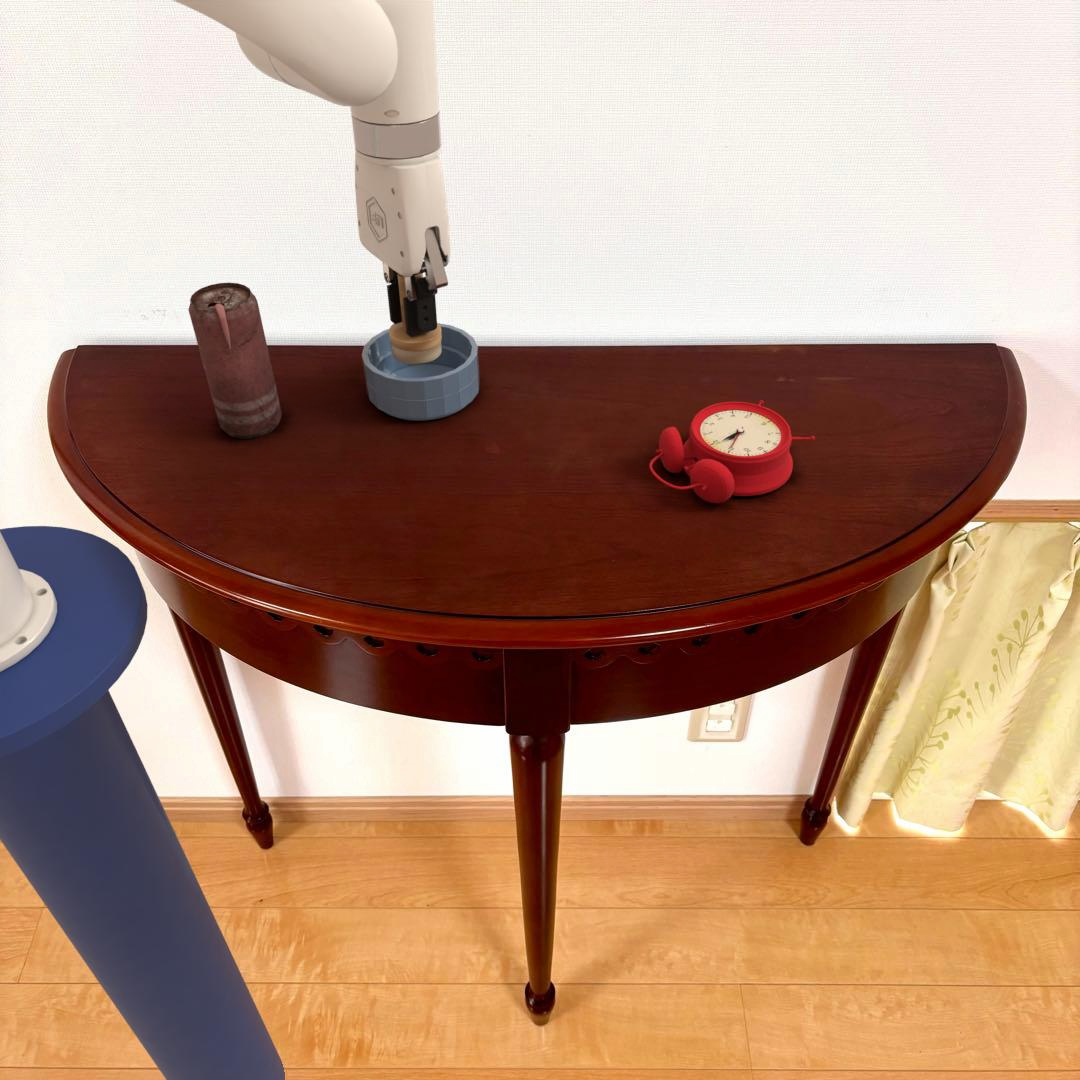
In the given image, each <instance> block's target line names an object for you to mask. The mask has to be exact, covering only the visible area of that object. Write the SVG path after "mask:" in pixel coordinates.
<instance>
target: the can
mask: <svg viewBox="0 0 1080 1080" xmlns="http://www.w3.org/2000/svg"><path fill="white" fill-rule="evenodd" d="M189 302H190V303H189V305H188V306H189V307H188V309H187V310H188V313H189V317H190V321H191V325H192V328H193V332H194V336H195V339H196V343H197V346H198V350H199V354H200V355H199V356H200V358H201V362H202V367H203V369H204V373H205V376H206V380H207V382H208V388H209V391H210V395H211V399H212V402H213V403H212V404H213V407H214V410H215V413H216V417H217V421H218V424H219V428H220V429H221V430H222V431H224V432H225V434H227V435H229V436H230V437H233V438H235V439H241V440H242V439H244V440H245V439H246V440H248V439H256V438H260V437H263V436H265V435H267V434H270V433H271V432H272V431H274V430H275V429H276V428H277V427H278V425H279V424H280V422H281V419H282V415H283V414H282V409H281V404H280V399H279V395H278V390H277V385H276V380H275V376H274V371H273V367H272V362H271V359H270V352H269V349H268V343H267V339H266V334H265V330H264V326H263V321H262V320H263V319H262V316H261V312H260V307H259V302H258V299H257V298H256V295H254V293H253V292H252V290H251V288H250V287H248V286H246V285H245V284H241V283H237V282H217V283H213V284H209V285H207V286H204V287H203V286H202V287H201V288H199V289H198V290H196V291H195V292H193V294H191V296H190V299H189Z"/></svg>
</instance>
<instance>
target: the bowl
mask: <svg viewBox="0 0 1080 1080" xmlns="http://www.w3.org/2000/svg"><path fill="white" fill-rule="evenodd" d="M437 323H438V324H439V325H440V326H441V333H442V339H441V347H442V352H441V354H440V356H439V357H438V358H436V359H435V360H433V361H430V362H427V363H423V364H407V363H403V362H400V361H398V360H396V359H395V358H394V357H393V355H392V348H391V343H390V339H389V329H390V328H386V329H384V330H382V331H380V332H379V333H377V334H376V335H374V336H372V337H371V338H370V339H369V340H368V341H367V342H366V343H365V344H364V345H363V350H362V353H361V360H362V367H363V373H364V380H365V388H366V393H367V396H368V399H369V401H370V402H371V403H372V405H374V406H375V408H377V409H378V410H380V411H382V412H383V413H385V414H386V415H389V416H391V417H394V418H397V419H401V420H406V421H417V422H418V421H422V422H423V421H432V420H438V419H442V418H446V417H450V416H452V415H453V414H456V413H458V412H460V411H461V410H463V409H464V408H466V407H467V406H468V405H469V404H471V403H472V402H473V401H474V399H475V398H476V397H477V395H478V394H479V391H480V382H481V381H480V365H479V363H480V361H479V345H478V344H477V342H476V340H475V338H474V337H473V336H472V335H471V334H469V333H468V332H467V331H465V330H464V329H461V328H460V327H459V328H458V327H457V326H454V325H452V324H446V323H440V322H437Z"/></svg>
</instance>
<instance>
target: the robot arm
mask: <svg viewBox="0 0 1080 1080" xmlns="http://www.w3.org/2000/svg"><path fill="white" fill-rule="evenodd" d="M172 1H173V2H176V3H178V4H180V5H182V6H185V7H187V8H189V9H191V10H193V11H196V12H198V13H200V14H202V15H204V16H206V17H207V18H209V19H211V20H213V21H215V22H217V23H219V24H220V25H221V26H224V27H225V28H227V29H229V30H230V31H232V32H234V33H235V38H236V40H237V43H238V46H239V48H240V50H241V52H242V54H244V56H245V57H246V59H247V61H249V62H250V64H251V65H252V66H254V67H255V68H256V69H257V70H258V71H260V72H261V73H263V74H264V75H266V76H268V77H269V78H271V79H274V80H276V81H278V82H281V83H282V84H285V85H288V86H290V87H293V88H295V89H298V90H301V91H304V92H305V93H308V94H311V95H313V96H316V97H318V98H320V99H322V100H324V101H327V102H329V103H332V104H334V105H338V106H341V107H350V117H351V126H352V134H353V142H354V143H353V144H354V150H355V151H354V188H355V189H354V190H355V205H356V218H357V229H358V238H359V242H360V244H361V245H362V247H363V248H364V249H365V250H367V251H368V252H369V253H370V254H372V255H373V256H374V257H375V258H377V259H378V260H379V261H381V263H382V273H383V279H384V281H385V283H386V284H387V285H386V293H387V299H388V300H387V301H388V311H389V319H390V322H392V324H398V323H401V322H402V316H401V306H400V295H399V285H398V275H397V274H398V273H399V274H400V275H402V276H404V277H405V285H406V294H407V297H405V298H403V303H404V314H405V325H406V333H407V335H409V336H410V337H414V336H417V335H420V334H424V333H427V332H430V331H433V330H435V329H436V328H437V323H438V315H437V301H436V295H437V294H438V292H439V291H438V289H441V288H445V287H447V286H448V285H449V280H448V275H447V273H446V269H445V267H447V266H448V265H449V264H450V259H451V232H450V221H449V211H448V201H447V194H446V187H445V180H444V175H443V169H442V165H441V164H442V163H441V159H440V155H441V153H442V151H443V146H442V132H441V131H442V130H441V129H442V127H441V113H440V101H439V100H440V99H439V98H440V97H439V80H438V64H437V63H438V60H437V46H436V45H437V44H436V43H437V41H436V28H435V27H436V26H435V12H434V9H435V8H434V0H172ZM421 273H423V274H424V275H425V276H423V277H422V278H419V279H418V280H417V282H416V279H415V275H418V274H421ZM56 614H57V601H56V598H55V595H54V593H53V591H52V589H51V587H50V586H49V584H48V583H47V582H46V581H45V580H44V579H43V578H42V577H40V576H38V575H36V574H34V573H32V572H29V571H26V570H22V569H19V568H18V566H17V564H16V562H15V560H14V558H13V556H12V554H11V552H10V550H9V548H8V546H7V544H6V542H5V540H4V538H3V536H2V534H1V532H0V672H1V671H3V670H5V669H7V668H8V667H10V666H12V665H14V664H16V663H17V662H18V661H20V660H21V659H23V658H24V657H25V656H27V655H28V654H29V653H31V652H32V651H33V650H34V649H35V648H36V647H37V646H38V645H39V644H40V643H41V642H42V641H43V639H44V638H45V637H46V636H47V634H48V633H49V631H50V630H51V628H52V626H53V624H54V622H55V618H56Z"/></svg>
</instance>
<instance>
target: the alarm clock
mask: <svg viewBox="0 0 1080 1080" xmlns="http://www.w3.org/2000/svg"><path fill="white" fill-rule="evenodd" d="M762 405H764V400H761V399H760V400H759V401H758V404H756V403H751V402H745V401H725V402H718V403H714V404H711V405H708V406H706V407H704V408H703V409H701V410H700V411H698V412H697V413H696V414H695V415H694V416H693V419H692V421H691V423H690V426H689V435H688V439H687V440H686V441H685V442H684V444H683V440H682V437H681V434H680V432H679V430H678V429H677V427H675V426H670V427H666V428H665V429H663V430H662V432H661V433H660V436H659V440H658V449H656V450H655V454H658V455H656V456H655V457H654V458H652V459H651V460H650V462H649V466H648V468H649V470H650V471H649V472H651V474H652V475H653V476H654V477H655V478H656V479H657V480H658V481H659V482H661V483H662V484H664V485H665V486H666V487H669V488H672V489H675V490H681V491H683V490H691V489H692V490H693V492H694V493H695V495H696V496H698V497H699V498H700V499H702V500H703V501H705V502H708V503H710V504H721V503H725V502H726V501H727V500H729V499H730V498H731V497H732V496H736V497H751V496H760V495H764V494H767V493H771V492H773V491H775V490H777V489H779V488H780V487H783V485H785V484H786V483H787V481H788V480H789V479H790V477H791V475H792V473H793V468H794V460H793V457H792V454H791V451H790V448H791V445H792V441H805V440H806V441H808V440H810V441H811V442H813V441H815V440H816V437H815V436H814V435H811V436H806V437H805V436H804V437H802V436H792V435H793V434H792V431H791V427H790V425H789V424H788V422H787V420H786V419H785V418H783V416H781V415H780V414H779V413H777V412H776V411H774V410H772V409H771V408H768V407H765V406H762ZM658 459H660V462H661V463H662V466H663V468H665V470H666V471H667V472H669V473H672V474H679V473H681V472H682V471H684V473H685V474H686V476H688V477H689V482H690V485H687V486H677V485H674V484H672V483H670V482H667V481H666V480H664V479H663V478H661V476H659V475H658V474H657V473H656V472H655V470H654V469H653V464H654V463H655V461H657V460H658Z"/></svg>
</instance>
